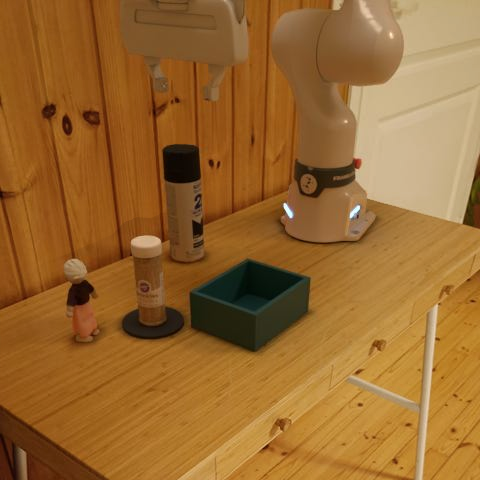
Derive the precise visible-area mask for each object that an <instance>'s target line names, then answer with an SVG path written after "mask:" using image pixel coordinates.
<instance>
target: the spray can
mask: <svg viewBox="0 0 480 480" xmlns="http://www.w3.org/2000/svg"><path fill="white" fill-rule="evenodd" d="M161 152H162V166H163V167H162V168H163V180H164V181H163V183H164V192H165V193H164V194H165V206H166V216H167V228H168V229H167V230H168V241H169V254H170V257H171V259H172V260H173V261H176V262H179V263H193V262H199V261H201V260H202V259H203V258H204V256H205V239H204V238H205V237H204V235H205V234H204V215H203V191H202V169H201V158H200V157H201V156H200V149H199V147H198V146H197V145H195V144H188V143H173V144H168V145H166V146H164V147H163V148H162V150H161Z"/></svg>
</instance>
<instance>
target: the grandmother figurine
mask: <svg viewBox="0 0 480 480" xmlns="http://www.w3.org/2000/svg"><path fill="white" fill-rule="evenodd" d="M63 273H64V275H65V278H66V279H67V281H68V282H69V283H70V284H71V286H70V287H69V289H68V292H67V298H66V312H65V315H66V317H67V318H71V321H72V332H73V333H74V334H76V336H75V341H76V342H77V343H91V342H92V341H94V337H93V336H98V335H99V334H100V333H101V332H100V330H99V328H98V324H97V319H96V314H95V312H94V310H93V308H92V304H91V302H90V300H91V298H92V299H93V300H96V299H98V298H99V294H98V293H97V291H96V290H95V287H94V286H93V285H92V284H91V283H90V282H89V281H88V280H87V279H85V278H86V277H87V275H88V269H87V266H86V265H85V264H84V262H83V261H81V260H79V259H77V258H71V259H68V260H67V261H66V262H65V263H64V264H63Z"/></svg>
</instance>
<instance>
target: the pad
mask: <svg viewBox="0 0 480 480" xmlns="http://www.w3.org/2000/svg"><path fill="white" fill-rule="evenodd" d="M165 312H166V316H167V319H166V321H165V322H164V323H163V324H161V325H158V326H146V325H143V324H141V323H140V321H139V308H136V309H133V310H131V311H130V312H128V313H127V314H126V315H125V316H123V318H122V320H121V327H122V329H123V331H124V332H125V333H126V334H128V335H129V336H131V337H134V338H137V339H143V340H156V339H163V338H167V337H170V336H172V335H174V334H177V333H179V331H181V330H182V328H183V327H184V324H185V318H184V315H183V314H182V313H181V312H180V311H179V310H177V309H175V308H173V307H169V306H165Z"/></svg>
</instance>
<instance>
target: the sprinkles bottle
mask: <svg viewBox="0 0 480 480" xmlns="http://www.w3.org/2000/svg"><path fill="white" fill-rule="evenodd" d="M162 247H163V245H162V240H161V239H160V238H159V237H157V236H155V235H149V234H148V235H146V234H145V235H140V236H135V237H134V238H132V239H131V240H130V253H131V255H132V258H133V259H132V261H133V269H134V270H133V272H134V280H135V285H134V286H135V293H136V303H137V309H139V321H140V323H141V324H143V325H146V326H158V325H161V324H163V323H164V322H165V321H166V319H167V316H166V312H165V307H166V294H165V284H164V272H163V262H162V253H163V248H162Z"/></svg>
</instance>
